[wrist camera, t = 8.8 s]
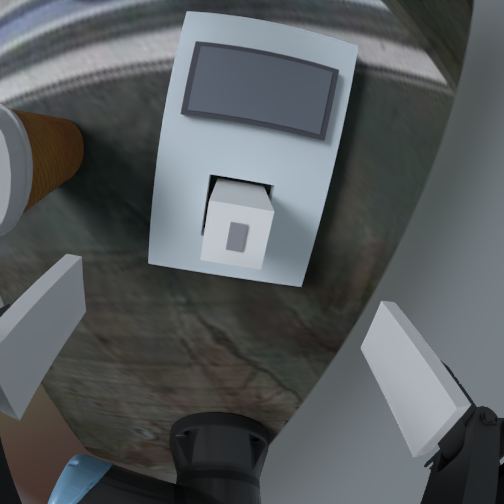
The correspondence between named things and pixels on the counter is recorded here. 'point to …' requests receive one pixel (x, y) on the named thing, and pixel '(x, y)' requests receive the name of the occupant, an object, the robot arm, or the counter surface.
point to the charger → (237, 224)
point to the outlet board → (245, 155)
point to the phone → (259, 89)
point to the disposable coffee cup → (34, 160)
